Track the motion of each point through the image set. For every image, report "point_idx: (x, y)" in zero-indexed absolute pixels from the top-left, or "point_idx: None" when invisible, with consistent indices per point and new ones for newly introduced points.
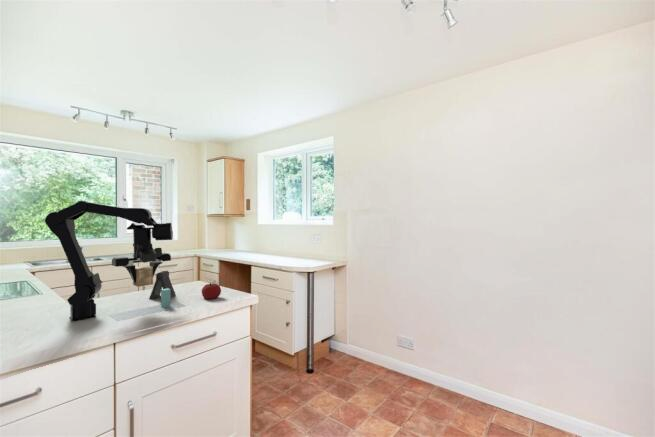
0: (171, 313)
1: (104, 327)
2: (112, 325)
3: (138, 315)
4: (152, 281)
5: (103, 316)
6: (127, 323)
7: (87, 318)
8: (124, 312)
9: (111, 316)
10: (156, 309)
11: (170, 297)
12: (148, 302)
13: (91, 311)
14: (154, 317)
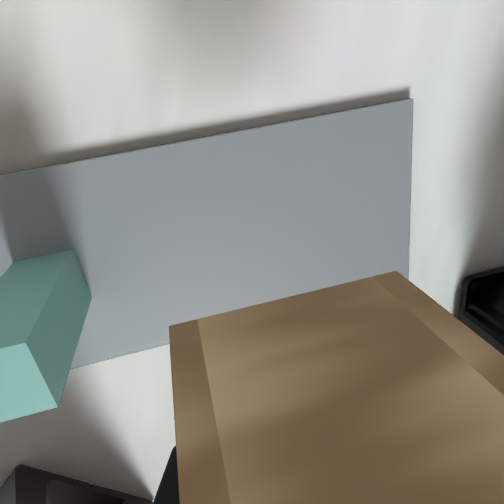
0: (10, 52)
1: (495, 20)
2: (450, 33)
3: (274, 147)
4: (180, 355)
5: (425, 287)
6: (369, 4)
7: (502, 270)
8: (331, 284)
9: (408, 237)
10: (132, 238)
11: (6, 489)
12: (162, 456)
13: (501, 313)
14: (169, 26)
